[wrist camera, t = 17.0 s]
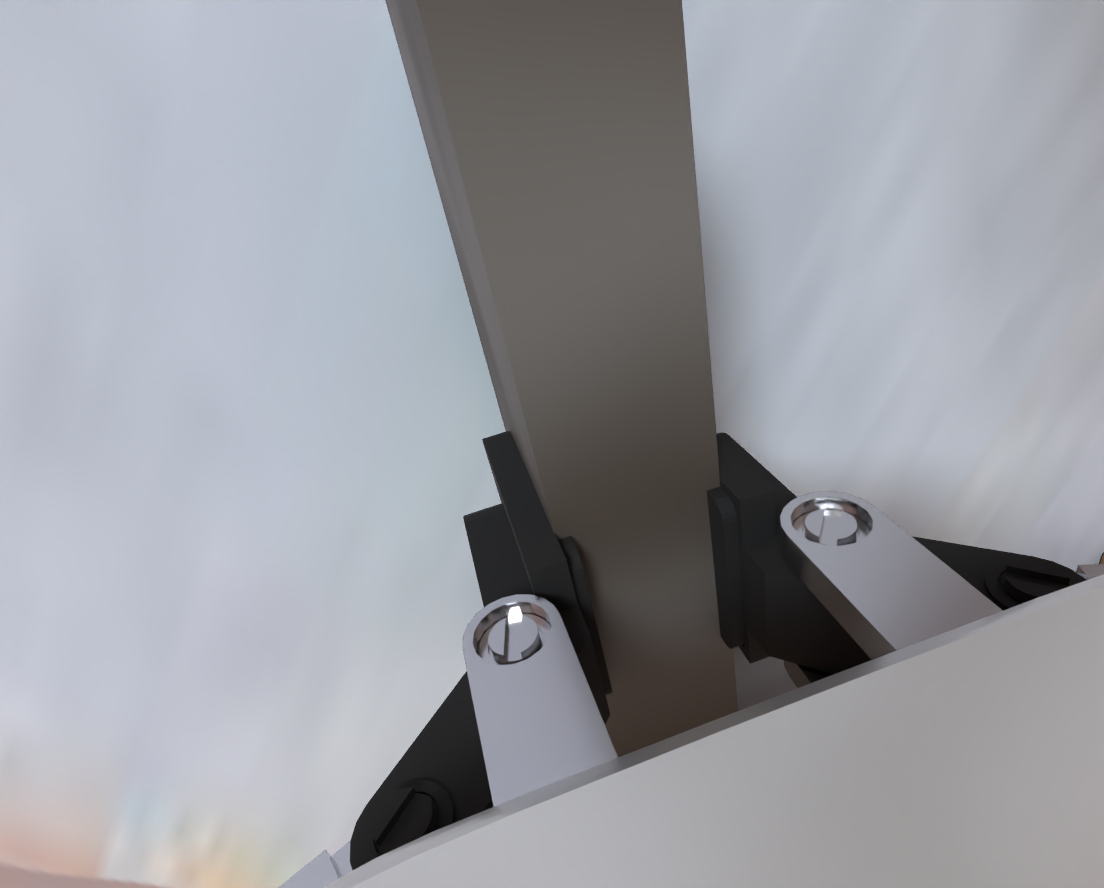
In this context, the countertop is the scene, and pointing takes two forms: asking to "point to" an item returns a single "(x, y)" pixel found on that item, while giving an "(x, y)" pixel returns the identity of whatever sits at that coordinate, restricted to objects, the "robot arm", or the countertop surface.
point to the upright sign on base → (593, 315)
